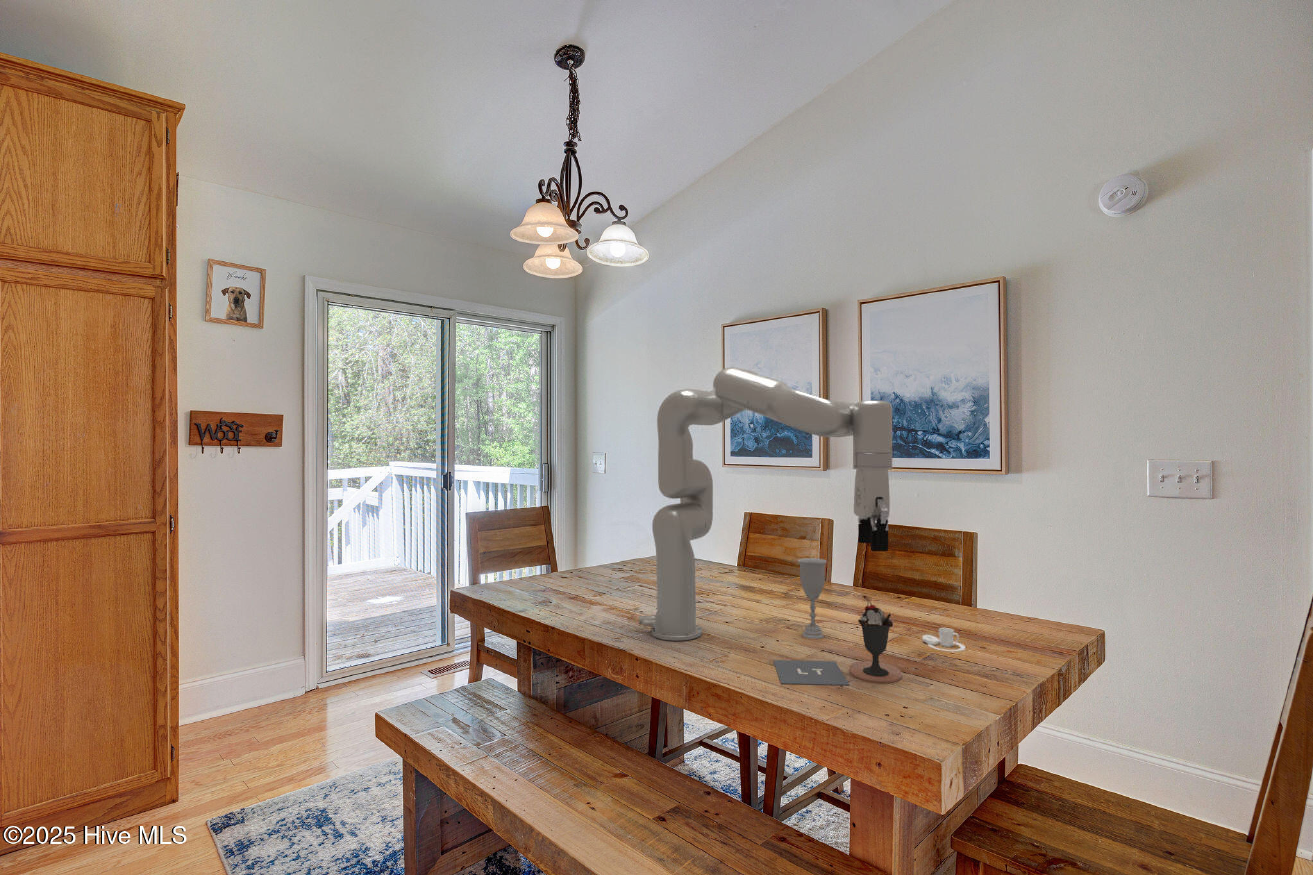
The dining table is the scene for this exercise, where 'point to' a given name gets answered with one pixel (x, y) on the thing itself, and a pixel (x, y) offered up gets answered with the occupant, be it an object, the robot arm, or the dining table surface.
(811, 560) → the chalice
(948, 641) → the teacup and saucer
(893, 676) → the coaster
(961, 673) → the dining table surface
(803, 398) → the robot arm
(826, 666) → the card
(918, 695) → the dining table surface
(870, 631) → the sundae
